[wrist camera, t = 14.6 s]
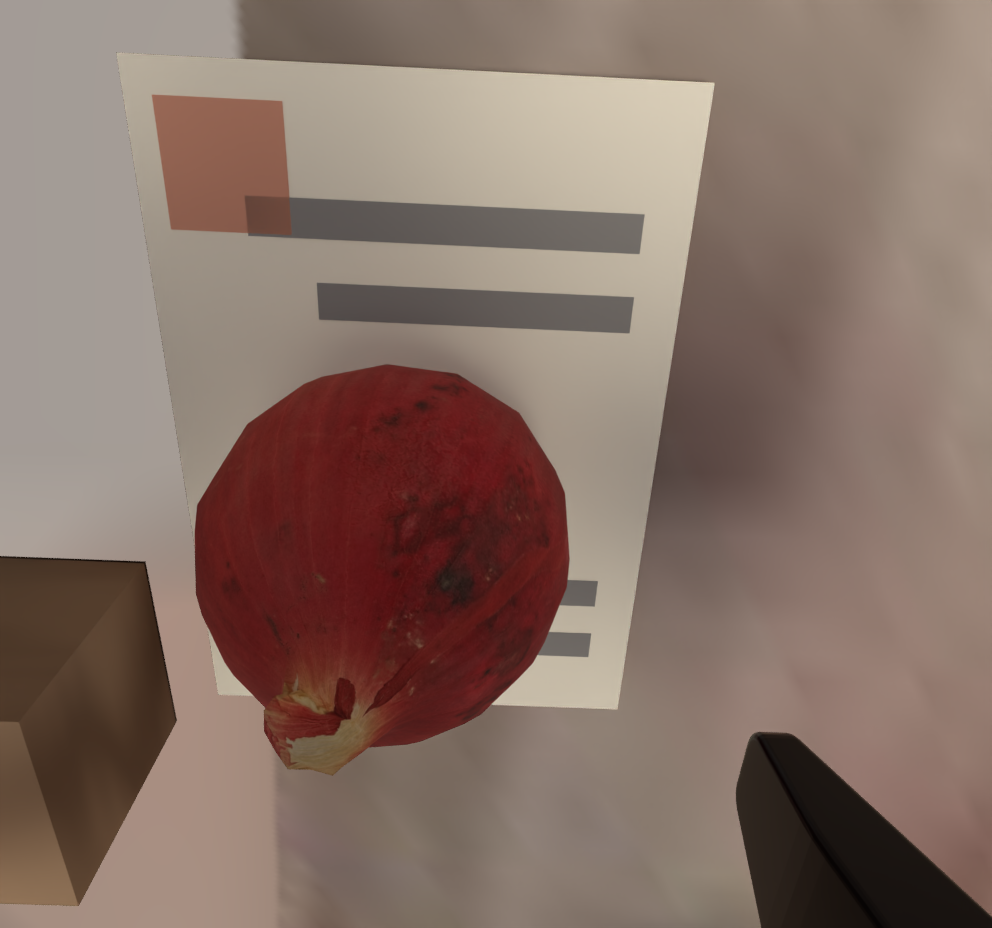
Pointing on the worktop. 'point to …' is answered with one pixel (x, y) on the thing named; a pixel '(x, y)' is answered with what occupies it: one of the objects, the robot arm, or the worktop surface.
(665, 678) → the worktop surface
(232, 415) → the letter
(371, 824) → the worktop surface
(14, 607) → the walnut block
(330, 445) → the onion
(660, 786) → the worktop surface
